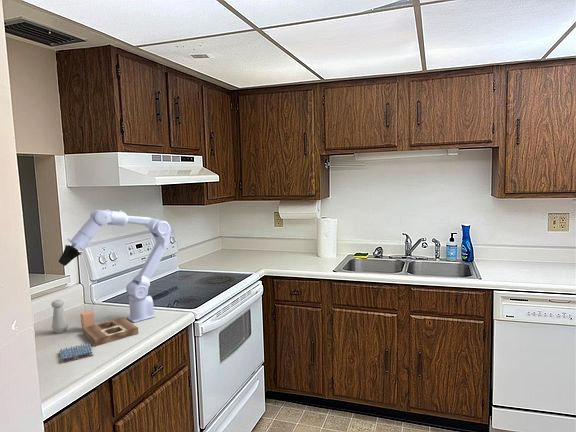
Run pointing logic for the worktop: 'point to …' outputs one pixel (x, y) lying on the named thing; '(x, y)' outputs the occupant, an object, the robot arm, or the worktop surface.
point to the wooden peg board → (110, 331)
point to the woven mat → (76, 353)
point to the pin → (87, 319)
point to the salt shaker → (59, 317)
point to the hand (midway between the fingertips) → (61, 263)
